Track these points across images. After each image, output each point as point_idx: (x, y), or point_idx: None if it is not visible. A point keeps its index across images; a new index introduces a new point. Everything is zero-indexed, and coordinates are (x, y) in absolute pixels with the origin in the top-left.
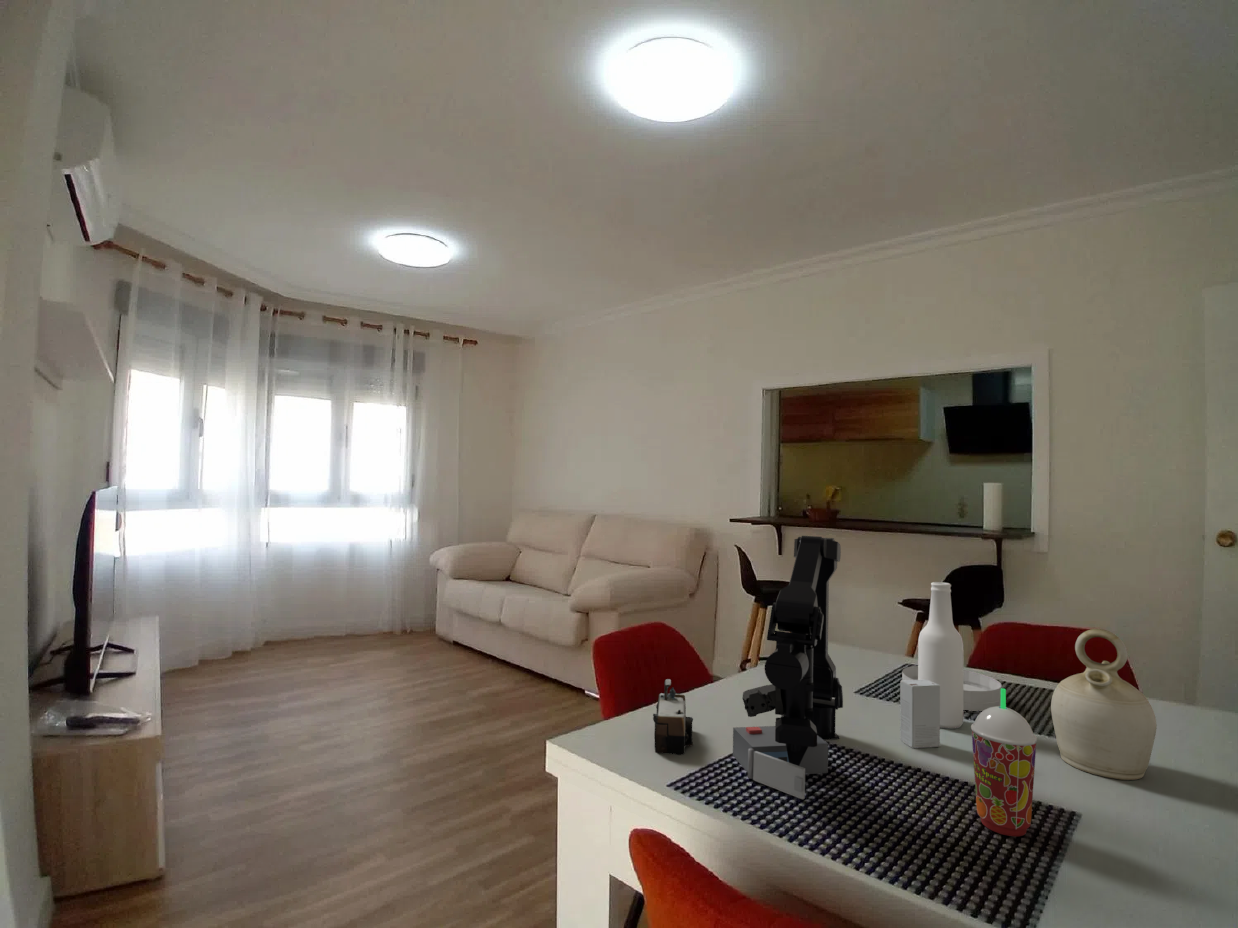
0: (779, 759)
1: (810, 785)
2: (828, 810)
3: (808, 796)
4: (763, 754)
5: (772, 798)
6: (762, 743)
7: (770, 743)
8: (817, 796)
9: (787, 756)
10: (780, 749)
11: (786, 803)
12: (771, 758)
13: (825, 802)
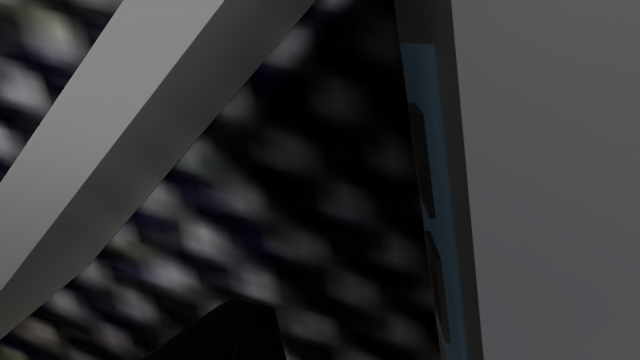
0: (37, 236)
1: (284, 343)
2: (7, 335)
3: (138, 291)
4: (153, 36)
5: (48, 60)
6: (613, 121)
7: (592, 262)
8: (150, 335)
9: (453, 349)
10: (469, 337)
11: (9, 139)
12: (34, 134)
13: (91, 350)
